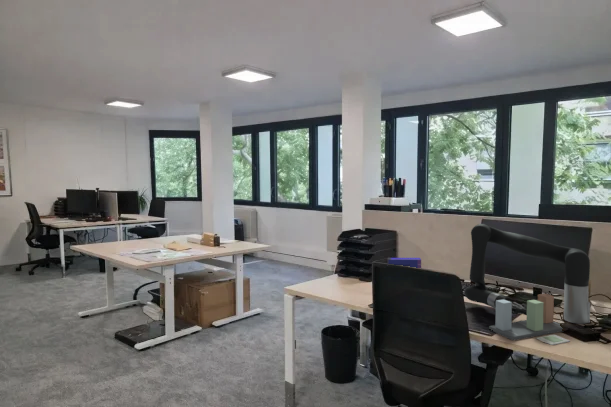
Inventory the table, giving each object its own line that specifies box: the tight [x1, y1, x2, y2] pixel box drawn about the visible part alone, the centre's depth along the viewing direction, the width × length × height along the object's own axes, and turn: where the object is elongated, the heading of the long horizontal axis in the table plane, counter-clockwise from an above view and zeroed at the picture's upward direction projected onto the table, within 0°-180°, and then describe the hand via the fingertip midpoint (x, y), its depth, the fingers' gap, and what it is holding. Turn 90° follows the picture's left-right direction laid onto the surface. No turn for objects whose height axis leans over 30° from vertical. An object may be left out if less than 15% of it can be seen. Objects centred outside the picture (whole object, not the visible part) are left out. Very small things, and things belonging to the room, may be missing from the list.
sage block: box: [526, 299, 544, 331], centre depth 171 cm, size 4×4×12 cm
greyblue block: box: [494, 299, 513, 331], centre depth 173 cm, size 4×4×12 cm
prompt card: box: [536, 333, 571, 346], centre depth 164 cm, size 10×7×1 cm
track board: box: [488, 319, 563, 341], centre depth 175 cm, size 31×13×2 cm, turn 108°
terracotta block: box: [537, 293, 555, 323], centre depth 180 cm, size 4×4×12 cm
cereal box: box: [387, 257, 422, 269], centre depth 218 cm, size 17×5×24 cm, turn 84°
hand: (530, 313), depth 174 cm, fingers closed
